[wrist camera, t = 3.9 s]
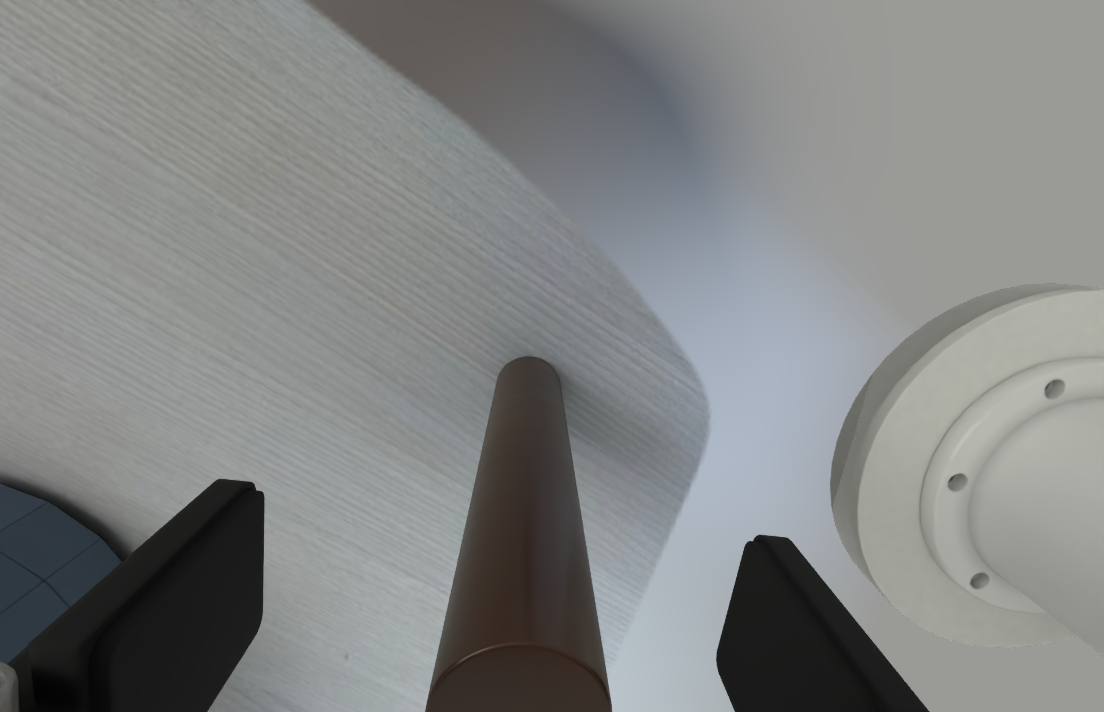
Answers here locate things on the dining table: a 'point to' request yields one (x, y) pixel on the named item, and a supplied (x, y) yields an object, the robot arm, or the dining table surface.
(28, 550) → the bowl
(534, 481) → the stick
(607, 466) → the dining table surface
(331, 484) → the dining table surface
